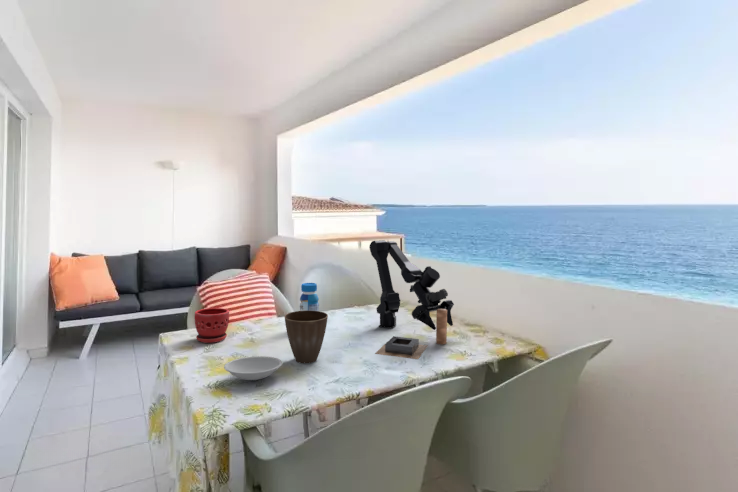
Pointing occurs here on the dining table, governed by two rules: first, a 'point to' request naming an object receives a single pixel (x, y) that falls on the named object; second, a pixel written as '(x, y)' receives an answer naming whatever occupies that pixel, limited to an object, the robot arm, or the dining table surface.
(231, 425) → the dining table surface
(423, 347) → the walnut board
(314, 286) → the beverage bottle
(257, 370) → the dish
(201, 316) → the plant pot
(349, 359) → the dining table surface
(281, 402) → the dining table surface
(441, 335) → the terracotta pin
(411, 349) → the black collar
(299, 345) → the plant pot
